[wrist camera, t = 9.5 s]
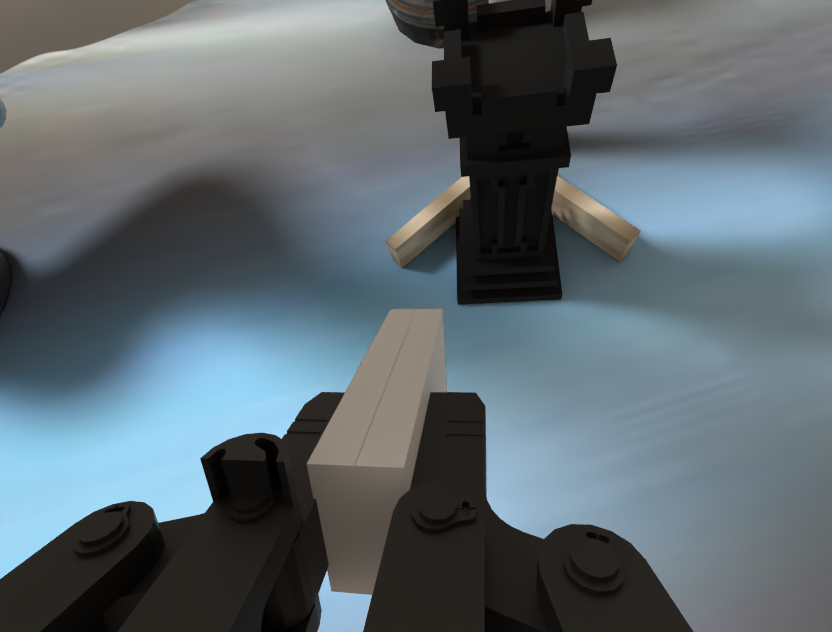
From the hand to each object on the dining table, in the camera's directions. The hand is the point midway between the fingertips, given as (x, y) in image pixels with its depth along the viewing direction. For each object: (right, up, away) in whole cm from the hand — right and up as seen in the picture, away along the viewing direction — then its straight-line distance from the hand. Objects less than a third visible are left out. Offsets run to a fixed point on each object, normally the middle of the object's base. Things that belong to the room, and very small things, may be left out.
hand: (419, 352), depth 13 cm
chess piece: (+7, +6, +25) cm, 26 cm away
